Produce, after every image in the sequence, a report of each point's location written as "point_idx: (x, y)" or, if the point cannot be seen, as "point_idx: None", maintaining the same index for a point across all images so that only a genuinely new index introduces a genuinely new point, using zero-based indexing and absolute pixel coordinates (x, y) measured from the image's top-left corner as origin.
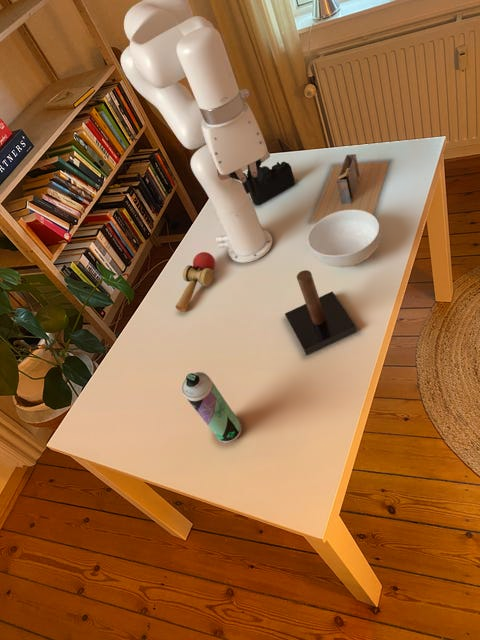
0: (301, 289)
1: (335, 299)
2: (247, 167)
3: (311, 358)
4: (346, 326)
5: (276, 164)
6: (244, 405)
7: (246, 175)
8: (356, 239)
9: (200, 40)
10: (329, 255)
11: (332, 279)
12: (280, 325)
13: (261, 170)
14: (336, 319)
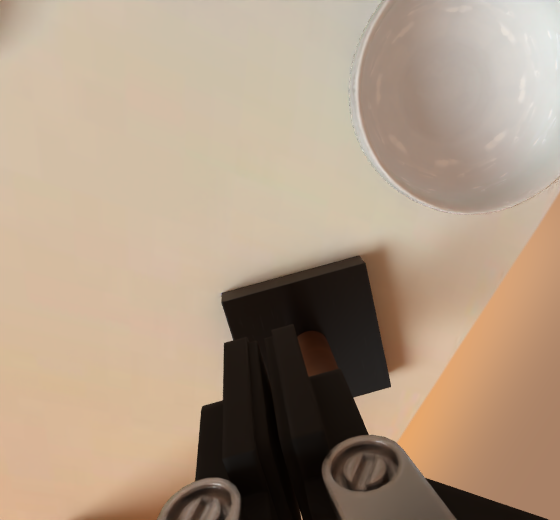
0: None
1: (366, 294)
2: (337, 516)
3: None
4: (370, 383)
5: None
6: (106, 499)
7: (277, 480)
8: (489, 52)
9: None
10: (411, 195)
11: (370, 187)
12: (201, 308)
13: None
14: (353, 357)
